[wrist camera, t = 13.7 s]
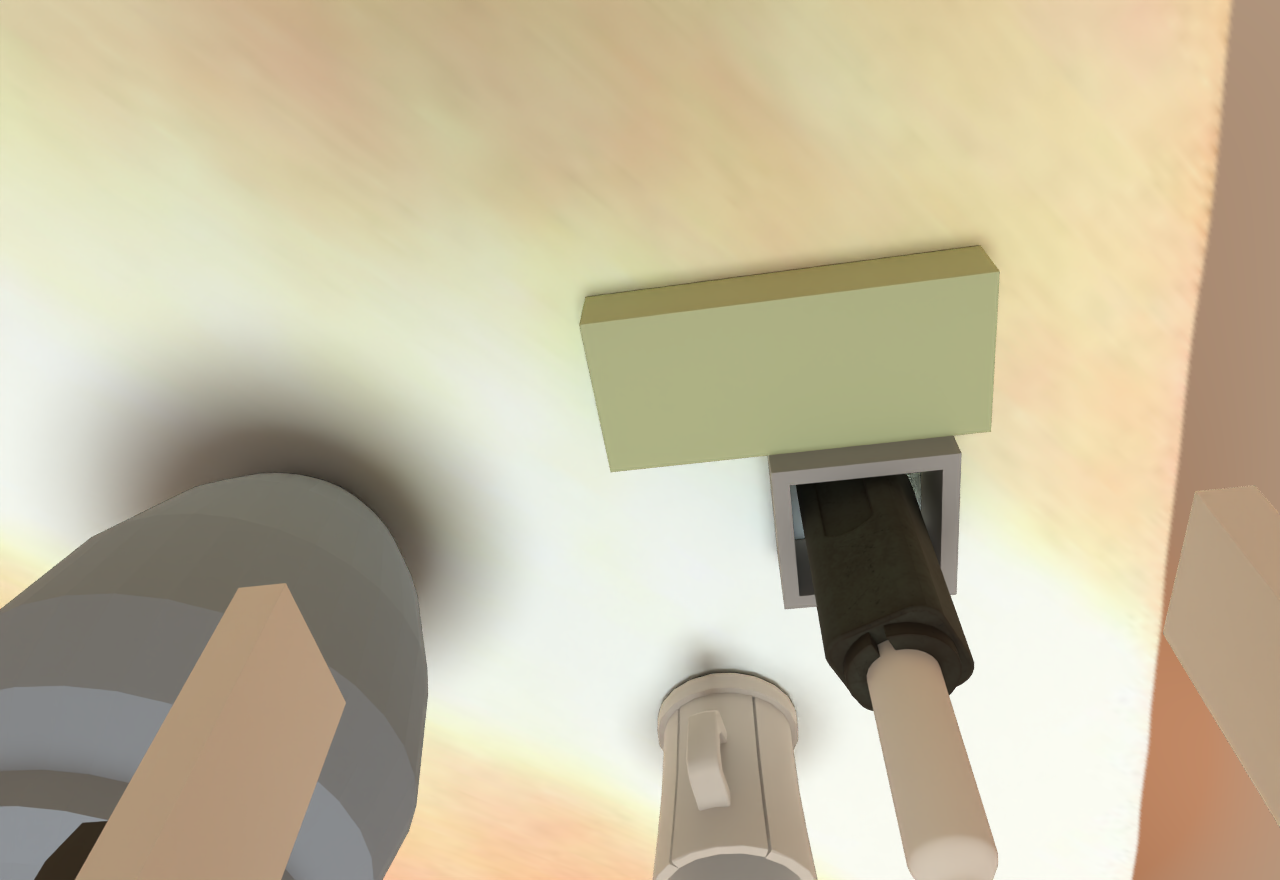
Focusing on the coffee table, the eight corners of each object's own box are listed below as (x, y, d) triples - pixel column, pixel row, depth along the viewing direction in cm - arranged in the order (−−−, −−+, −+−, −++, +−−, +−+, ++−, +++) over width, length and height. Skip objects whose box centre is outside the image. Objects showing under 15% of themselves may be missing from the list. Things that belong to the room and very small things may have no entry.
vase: (226, 671, 58) (-23, 1117, 38) (68, 410, 48) (-394, 829, 27) (523, 638, 55) (428, 1100, 35) (422, 355, 45) (205, 774, 25)
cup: (608, 709, 59) (592, 888, 48) (701, 630, 54) (704, 808, 44) (733, 779, 62) (742, 960, 52) (828, 709, 58) (859, 891, 48)
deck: (640, 565, 52) (637, 622, 48) (585, 297, 43) (575, 340, 39) (968, 534, 50) (991, 591, 46) (980, 245, 41) (1010, 285, 37)
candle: (875, 424, 46) (1033, 904, 25) (918, 494, 48) (1096, 988, 27) (786, 469, 48) (864, 953, 27) (831, 534, 50) (936, 1028, 29)
